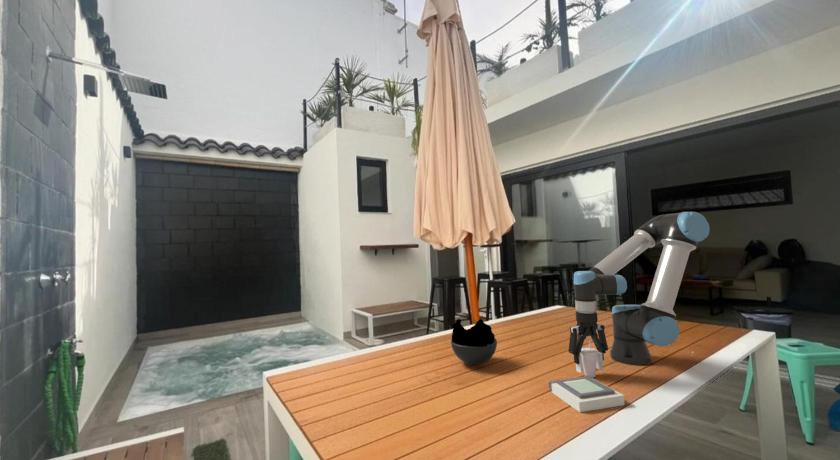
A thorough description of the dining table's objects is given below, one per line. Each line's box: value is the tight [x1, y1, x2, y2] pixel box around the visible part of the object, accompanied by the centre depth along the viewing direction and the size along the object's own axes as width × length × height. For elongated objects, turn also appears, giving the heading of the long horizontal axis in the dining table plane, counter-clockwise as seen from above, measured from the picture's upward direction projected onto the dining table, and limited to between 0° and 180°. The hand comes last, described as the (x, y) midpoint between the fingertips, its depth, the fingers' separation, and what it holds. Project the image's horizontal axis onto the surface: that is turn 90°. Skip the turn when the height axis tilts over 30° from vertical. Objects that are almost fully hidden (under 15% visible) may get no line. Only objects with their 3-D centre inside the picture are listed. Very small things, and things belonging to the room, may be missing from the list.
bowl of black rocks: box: [450, 318, 498, 366], centre depth 148 cm, size 20×20×19 cm
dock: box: [548, 375, 625, 413], centre depth 112 cm, size 16×16×4 cm
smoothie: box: [580, 338, 598, 378], centre depth 130 cm, size 6×6×14 cm
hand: (589, 370), depth 130 cm, fingers open, 8 cm apart
